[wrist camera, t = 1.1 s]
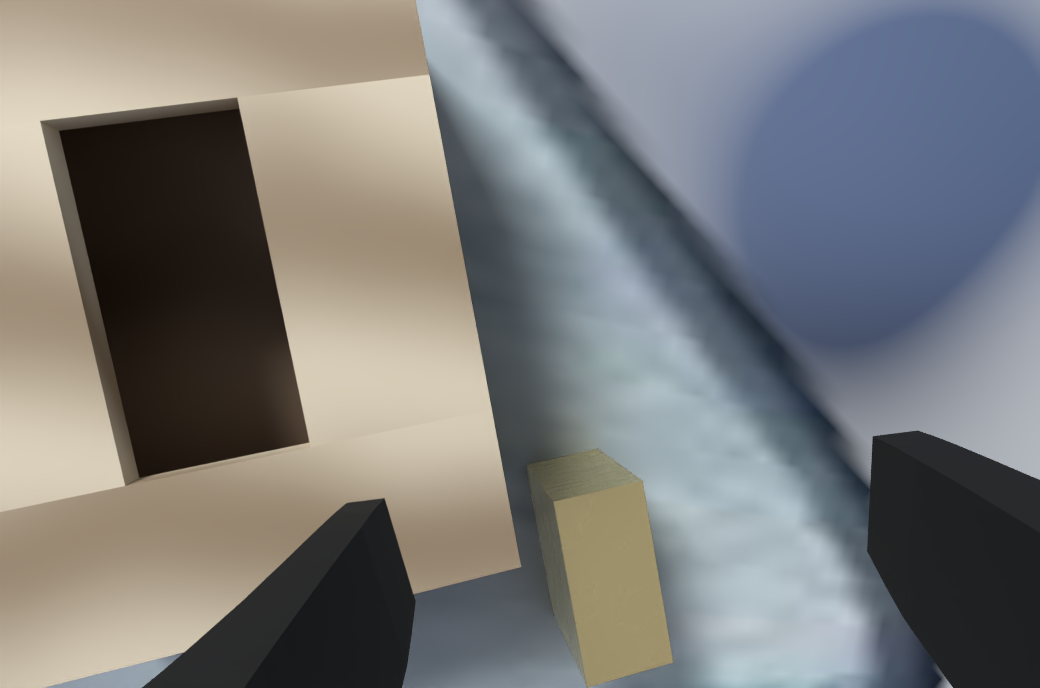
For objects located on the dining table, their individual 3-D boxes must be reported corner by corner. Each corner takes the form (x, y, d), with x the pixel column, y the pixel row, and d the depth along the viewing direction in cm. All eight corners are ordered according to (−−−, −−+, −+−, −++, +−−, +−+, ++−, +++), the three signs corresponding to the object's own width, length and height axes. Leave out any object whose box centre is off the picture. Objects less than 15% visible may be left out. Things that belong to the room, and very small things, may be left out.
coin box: (488, 489, 19) (520, 567, 13) (112, 576, 17) (-48, 710, 11) (403, 35, 18) (396, -104, 12) (-7, 79, 16) (-249, -58, 10)
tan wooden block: (622, 594, 20) (673, 662, 16) (553, 613, 20) (587, 687, 16) (597, 447, 20) (642, 480, 16) (525, 464, 19) (553, 502, 15)
